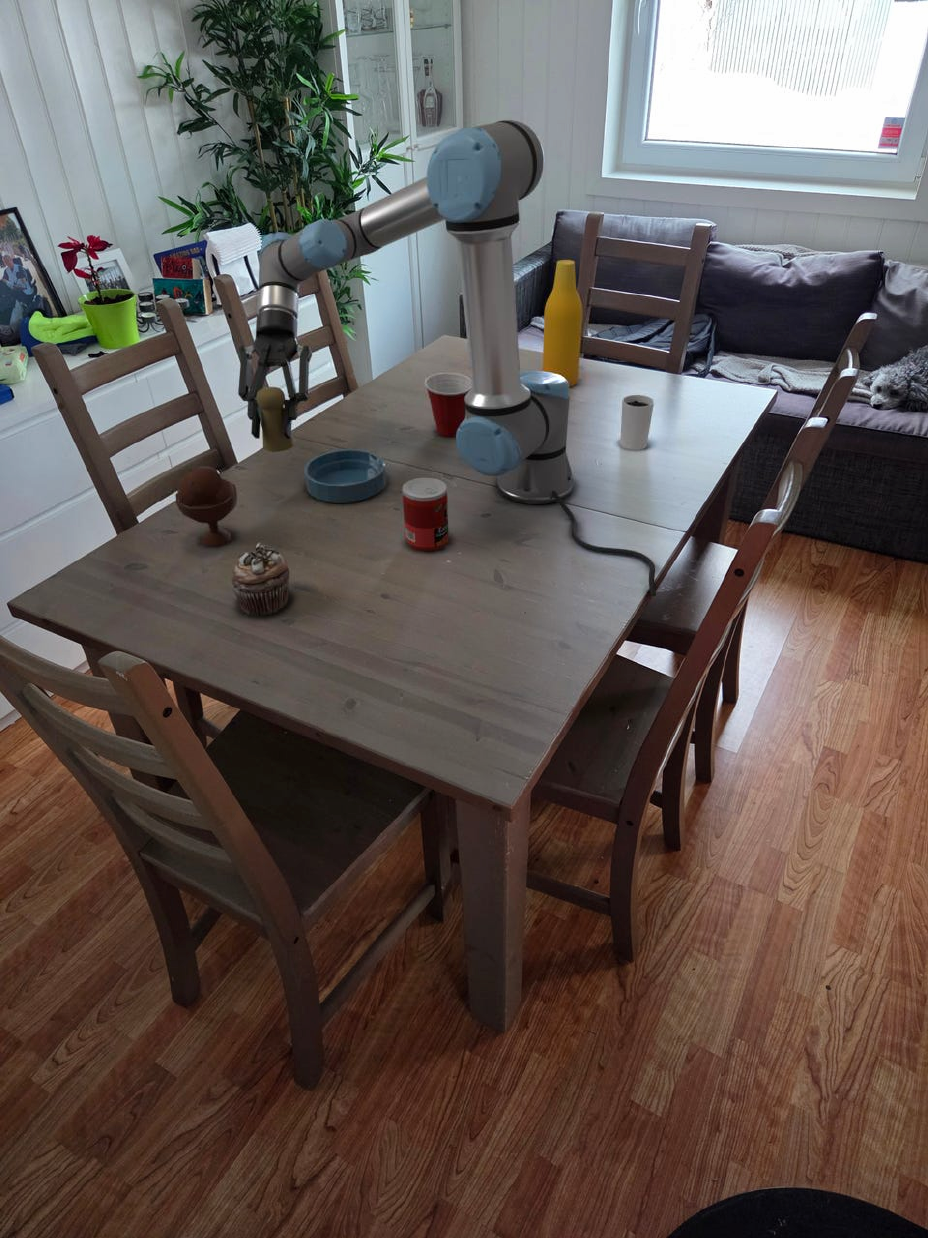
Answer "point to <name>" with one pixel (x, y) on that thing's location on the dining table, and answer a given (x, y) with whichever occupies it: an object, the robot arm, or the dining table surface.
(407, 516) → the canned food
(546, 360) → the beer bottle
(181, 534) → the dining table surface
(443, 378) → the plastic cup
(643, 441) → the white coffee cup
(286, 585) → the cupcake
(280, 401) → the olive game pawn
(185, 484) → the ice cream bowl
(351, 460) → the bowl
